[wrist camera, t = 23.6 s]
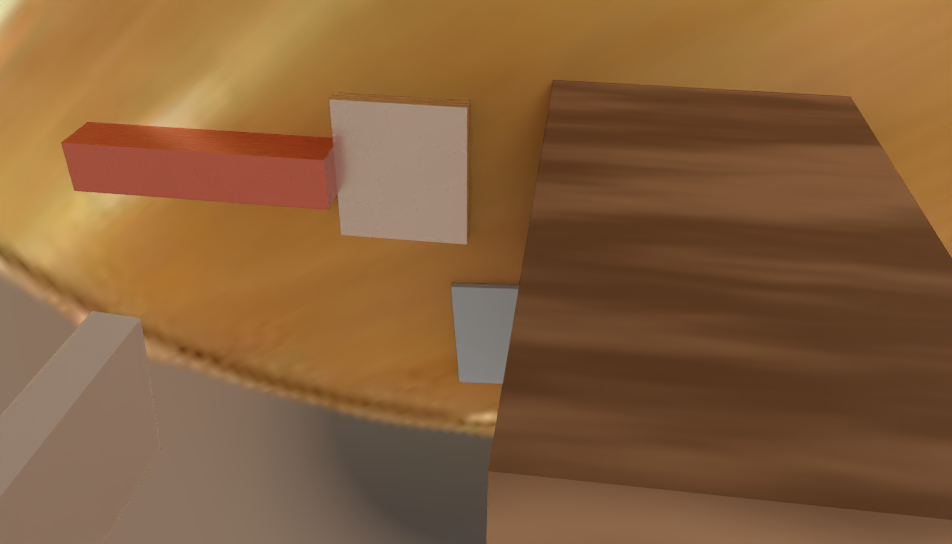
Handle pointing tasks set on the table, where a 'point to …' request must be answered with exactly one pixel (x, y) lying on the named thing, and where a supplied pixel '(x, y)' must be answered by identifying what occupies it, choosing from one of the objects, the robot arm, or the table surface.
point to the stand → (723, 330)
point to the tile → (483, 329)
